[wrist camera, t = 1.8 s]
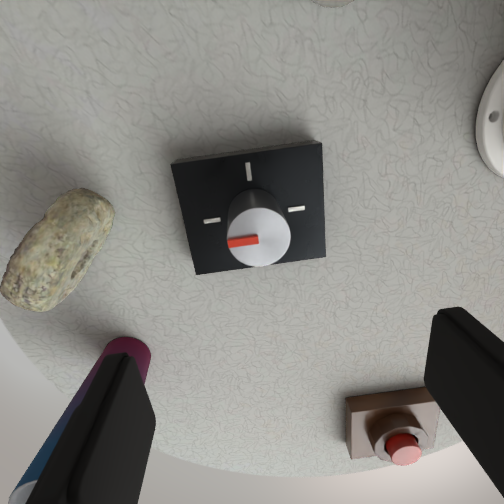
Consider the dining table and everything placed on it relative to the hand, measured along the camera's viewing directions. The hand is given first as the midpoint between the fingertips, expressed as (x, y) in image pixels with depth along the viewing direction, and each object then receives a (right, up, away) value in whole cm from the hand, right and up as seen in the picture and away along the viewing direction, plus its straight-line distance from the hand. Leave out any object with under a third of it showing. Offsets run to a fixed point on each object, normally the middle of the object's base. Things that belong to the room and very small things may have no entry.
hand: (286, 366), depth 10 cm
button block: (+17, -18, +32) cm, 40 cm away
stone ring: (-16, +6, +19) cm, 26 cm away
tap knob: (-1, +7, +17) cm, 18 cm away
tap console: (-1, +8, +19) cm, 21 cm away
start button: (+17, -20, +29) cm, 39 cm away
